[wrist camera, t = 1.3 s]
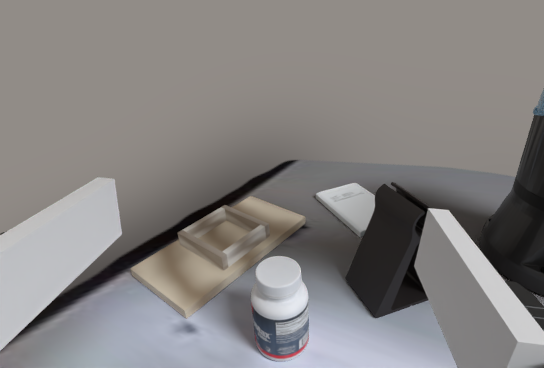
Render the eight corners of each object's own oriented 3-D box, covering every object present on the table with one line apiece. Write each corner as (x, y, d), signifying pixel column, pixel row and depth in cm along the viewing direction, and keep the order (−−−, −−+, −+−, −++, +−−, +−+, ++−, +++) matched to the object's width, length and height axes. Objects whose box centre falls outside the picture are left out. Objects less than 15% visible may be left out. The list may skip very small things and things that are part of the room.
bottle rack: (251, 202, 58) (249, 185, 56) (305, 223, 51) (305, 205, 50) (132, 275, 43) (126, 256, 42) (186, 318, 37) (181, 296, 35)
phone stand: (374, 319, 35) (385, 221, 30) (345, 280, 40) (350, 191, 35) (445, 294, 38) (468, 200, 32) (409, 261, 43) (423, 174, 37)
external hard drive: (359, 240, 48) (315, 200, 58) (406, 225, 50) (356, 189, 61) (360, 231, 47) (315, 192, 57) (407, 215, 50) (356, 181, 60)
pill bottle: (248, 327, 35) (240, 259, 31) (295, 311, 37) (292, 244, 33) (266, 372, 31) (259, 300, 27) (318, 351, 32) (318, 280, 28)
